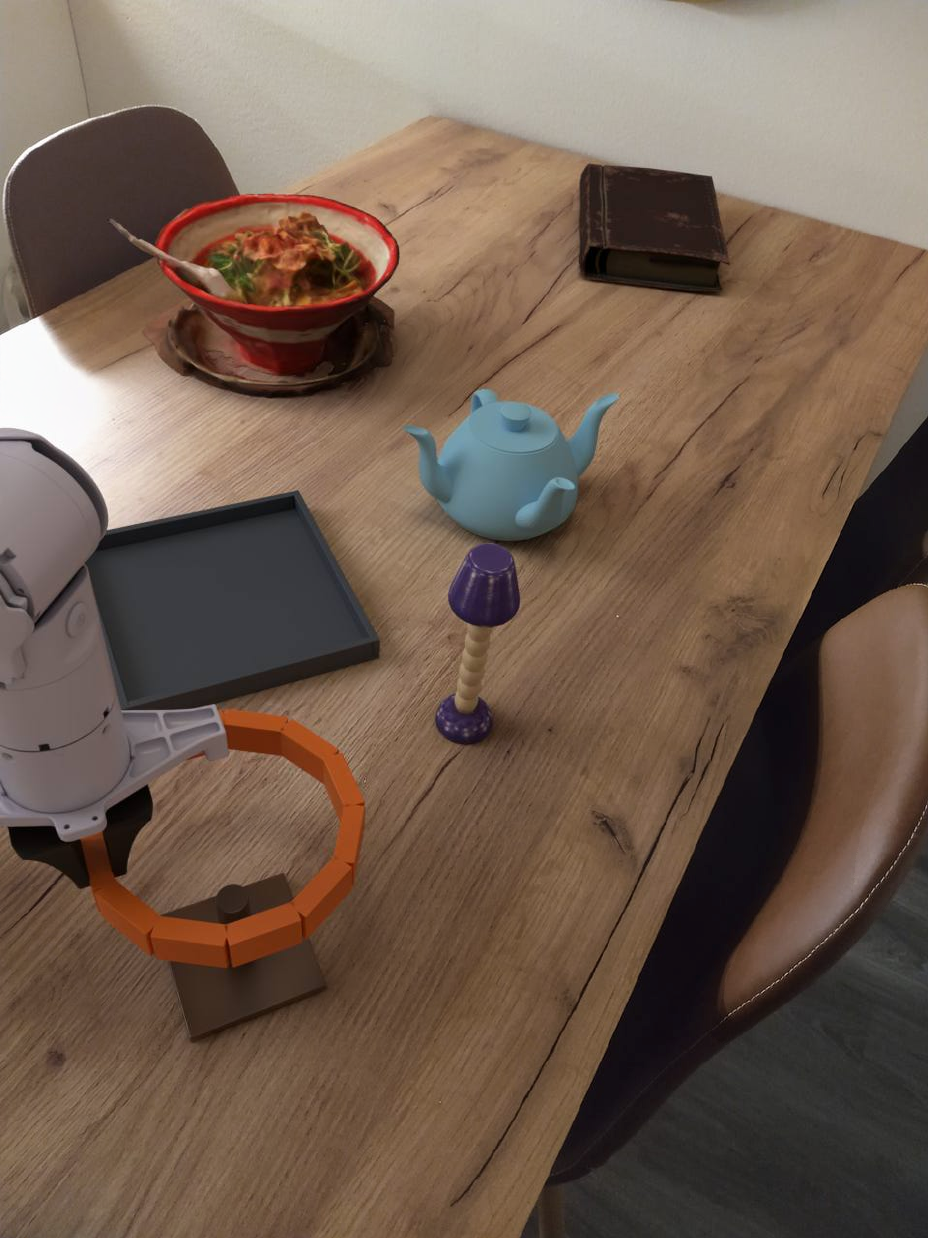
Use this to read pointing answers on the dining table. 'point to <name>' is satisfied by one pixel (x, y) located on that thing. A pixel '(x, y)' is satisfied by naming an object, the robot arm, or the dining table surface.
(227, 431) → the dining table surface
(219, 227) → the stew
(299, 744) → the ring
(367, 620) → the tray
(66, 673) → the robot arm
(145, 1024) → the dining table surface
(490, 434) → the teapot
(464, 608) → the toy lamp
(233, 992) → the stand
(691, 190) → the diary
